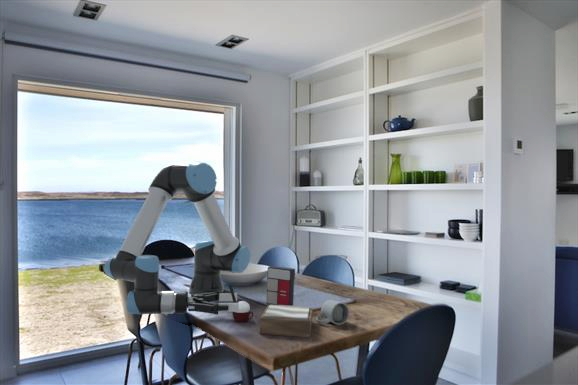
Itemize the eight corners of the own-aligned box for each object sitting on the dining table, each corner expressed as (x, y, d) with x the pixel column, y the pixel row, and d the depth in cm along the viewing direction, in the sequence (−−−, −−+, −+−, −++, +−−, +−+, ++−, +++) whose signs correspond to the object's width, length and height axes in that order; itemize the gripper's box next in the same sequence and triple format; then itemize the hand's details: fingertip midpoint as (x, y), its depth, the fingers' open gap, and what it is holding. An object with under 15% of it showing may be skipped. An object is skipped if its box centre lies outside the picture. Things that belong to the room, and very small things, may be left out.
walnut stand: (267, 319, 147) (267, 303, 147) (311, 322, 145) (312, 306, 145) (259, 333, 131) (260, 316, 131) (309, 337, 129) (310, 319, 130)
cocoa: (255, 322, 144) (258, 288, 144) (241, 325, 139) (245, 290, 140) (237, 315, 150) (240, 282, 151) (223, 318, 146) (227, 284, 146)
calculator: (265, 304, 168) (266, 267, 169) (270, 301, 172) (271, 265, 172) (289, 308, 163) (290, 270, 163) (293, 305, 167) (295, 268, 167)
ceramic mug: (335, 317, 152) (335, 296, 152) (349, 323, 145) (349, 301, 145) (311, 321, 147) (311, 299, 147) (324, 328, 140) (324, 305, 140)
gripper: (178, 304, 153) (236, 303, 156) (170, 324, 128) (238, 323, 132) (179, 283, 153) (237, 283, 157) (171, 300, 129) (239, 300, 132)
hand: (238, 302), depth 144 cm, fingers open, 13 cm apart
